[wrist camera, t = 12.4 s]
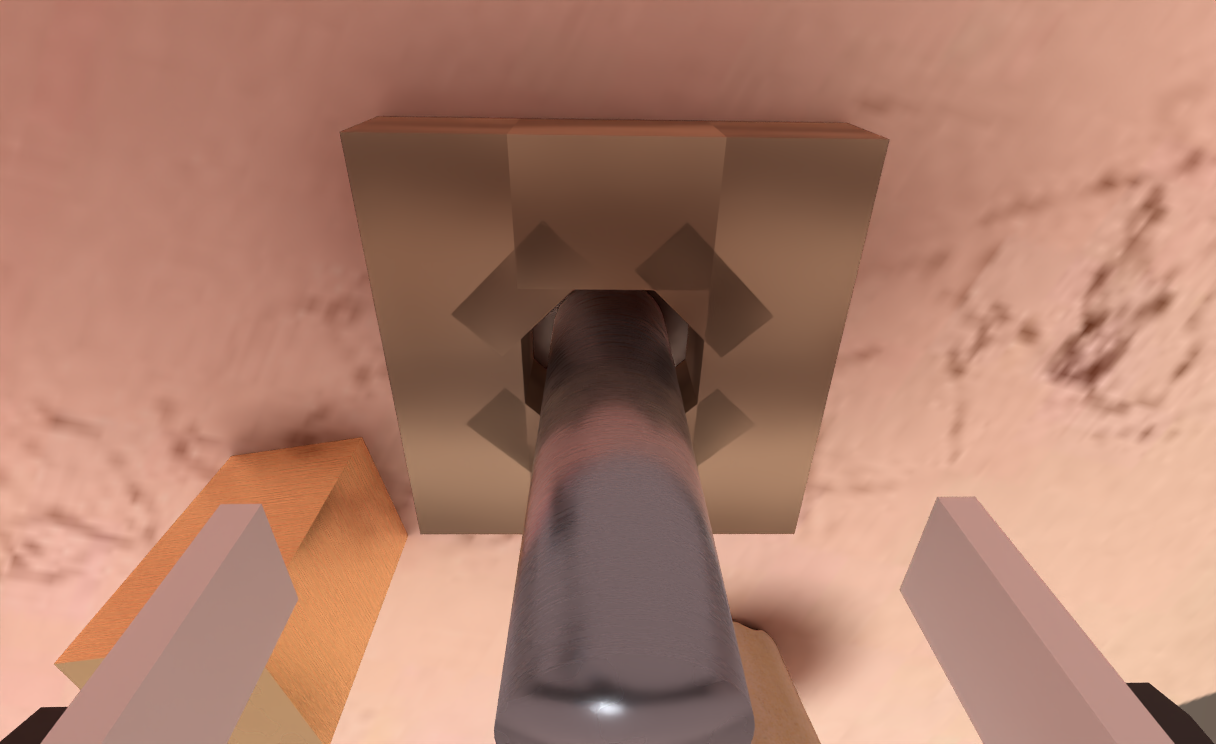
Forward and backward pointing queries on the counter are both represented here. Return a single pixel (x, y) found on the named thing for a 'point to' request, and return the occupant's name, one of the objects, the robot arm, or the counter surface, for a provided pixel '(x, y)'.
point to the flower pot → (771, 692)
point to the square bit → (318, 567)
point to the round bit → (618, 552)
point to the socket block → (610, 288)
